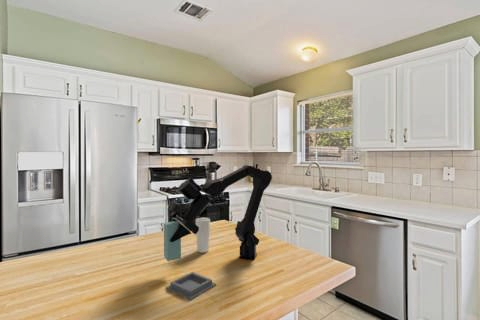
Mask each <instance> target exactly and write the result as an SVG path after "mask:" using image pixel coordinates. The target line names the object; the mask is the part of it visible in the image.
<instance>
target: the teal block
mask: <svg viewBox="0 0 480 320" xmlns="http://www.w3.org/2000/svg"><path fill="white" fill-rule="evenodd" d="M177 229H178V222H177V221H174V222H172V221H168V222H163V257H164V259H165V260H166V261H167V262H171V261H176V260H180V259H182V243H181V242H182V238H180V239H178V240H176V241H174V242H170V239H171V237H172V236H173V234H174V233H175V232H176V230H177Z"/></svg>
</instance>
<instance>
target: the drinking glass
mask: <svg viewBox="0 0 480 320" xmlns="http://www.w3.org/2000/svg"><path fill="white" fill-rule="evenodd" d="M195 224H196V225H197V226H198V227H199V231H198V232H197V234H196V235H195V237H196V247H197V248H196V250H197V252H198V253H200V254H205V253H208V252H209V250H210V247H209V246H210V235H211V219H210V217H197V218H196V219H195Z"/></svg>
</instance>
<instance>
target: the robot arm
mask: <svg viewBox="0 0 480 320" xmlns="http://www.w3.org/2000/svg"><path fill="white" fill-rule="evenodd" d="M247 177H250V178H252V186H253V188H252V191H251V194H250V198H249V200H248V204H247V207H246V210H245V213H244V216H243V219H241V221H239V220H237V223H236V226H235V228H234V231H235V235H236V237H237V238H238V241H239V242H240V245H239V259H241V260H242V259H244V260H255V259H256V258H257V255H258V253H257V246H258V245H259V242H260V239H259V238H258V237H257V236H256V235H255V232H256V226H255V225H256V224H255V222H256V221H255V220H256V217H257V214H258V210H259V208H260V205H261V202H262V198H263V194H264V192H265V190H266V189H267V188H268V187H269V185H270V184H271V182H272V179H273V175H272V173H271V172H270V171H269V170H264V169H259V168H256V167H254V166H252V165H243V166H242V167H240V168H238V169H236V170H234V171H231V172H230V173H228V174H227V175H225V176H222V177H220V178H216V179H211V180H208V181H206V182H204V183H203V184H198V183H197V182H196V181H195V180H194V179H193V178H191V177H189V178H188V179H186V180H185V181H183V182H182V183H181V184H180V185H179V186H178V188H177V191H178V192H179V193H180V194H182V196H183V197H184V198H186V199H187V200H188V201H189V200H190V201H191V202H189V203H182V202H179V203H177V202H175V201H171V203H170V205H169V207H168V210H170V211H171V212H170V216H171V222H174V221H177V222H178V229H177V230H176V232H175V233H174V234H173V236H172V237H171V239H170V242H174V241H176V240H178V239H180V238H181V239H182V238H184V237H186V236H189V235H191V234H194V235H195V236H196V234H197V232H198V231H199V227H198V226H197V225H196V219H197V218H201V216H202V212H204V210H205V209H206V207H207V206H208V205H209V206H211V207H214V206H215V202H214V198H216V197H218V196H220V195H221V194H222V193H223V192H224V191H226V189H227V188H229V186H231V185H233V184H235V183H238V181H241V180H242V179H245V178H247ZM203 193H204V194H203ZM209 196H210V197H211V198H210V197H209ZM212 197H213V198H212Z"/></svg>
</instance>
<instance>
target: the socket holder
mask: <svg viewBox="0 0 480 320" xmlns="http://www.w3.org/2000/svg"><path fill="white" fill-rule="evenodd" d="M215 287H217V283H215V282H213V279H211V278H209V277H206V276H204V275H201V274H199V273H196V272H195V271H192V272H190V273H189V272H188V273H187V274H185V275H183V276H181V277H178V278H177V279H174V280H172V281H170V283H169V285H167V286H166V287H165V289H166V290H168V291H169V292H172V293H174V294H176V295H178V296H180V297H182V298H184V299H186V300H188V301H192V300H193V299H194V300H195V299H196V298H197V297H199V296H201V295H202V294H204V293H207V292H208V291H209V290H211V289H213V288H215Z"/></svg>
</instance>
